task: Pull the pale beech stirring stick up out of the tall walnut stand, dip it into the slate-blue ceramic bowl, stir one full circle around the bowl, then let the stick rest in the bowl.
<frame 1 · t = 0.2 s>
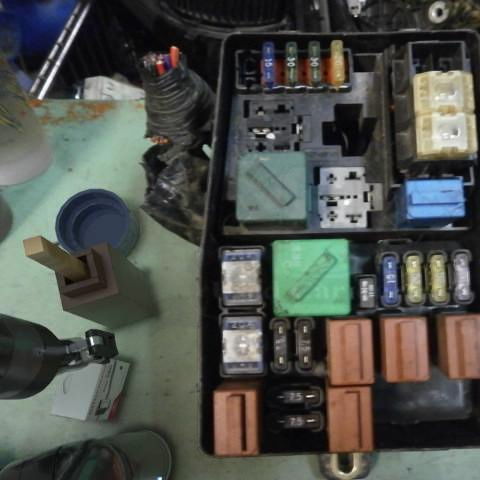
hand: (70, 366, 65), 18 cm above the table, tool pointing down, fingers open, 8 cm apart
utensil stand: (128, 300, 85), on the table
stirring stick: (85, 275, 68), point 18 cm above the table, touching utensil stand
ink box: (107, 387, 81), on the table
bowl: (104, 233, 88), on the table
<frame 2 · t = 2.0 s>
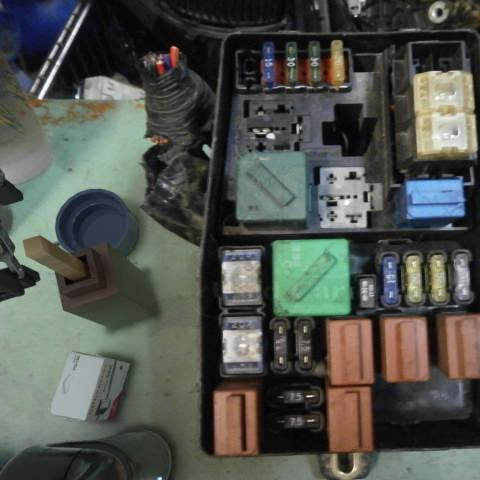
hand: (21, 239, 52), 34 cm above the table, tool pointing down, fingers open, 8 cm apart
nothing on the table moved.
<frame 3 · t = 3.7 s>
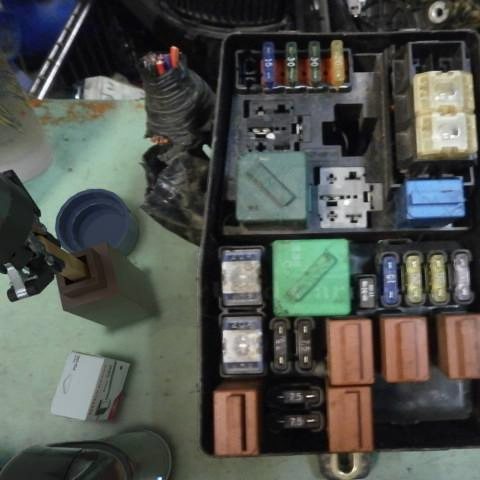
hand: (54, 257, 59), 27 cm above the table, tool pointing down, fingers closed on stirring stick, 2 cm apart
stirring stick: (85, 275, 68), point 18 cm above the table, touching gripper, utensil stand
everything else where it was.
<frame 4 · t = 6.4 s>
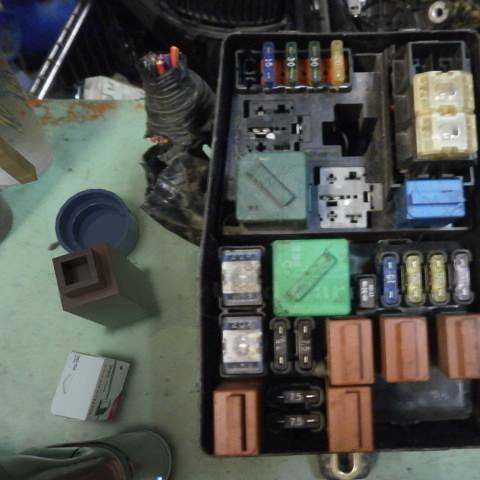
stirring stick: (28, 175, 62), point 27 cm above the table, touching gripper
everything else where it was.
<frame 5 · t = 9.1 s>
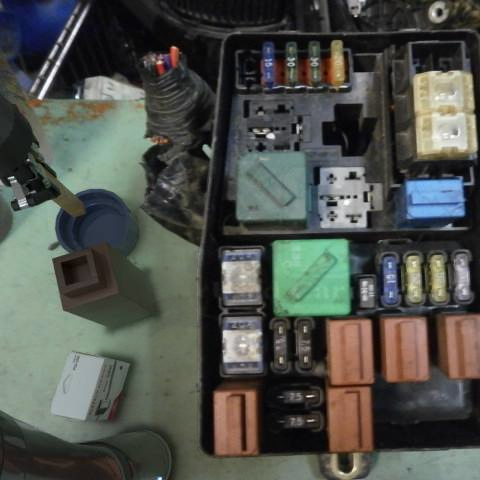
hand: (50, 186, 69), 20 cm above the table, tool pointing down, fingers closed on stirring stick, 2 cm apart
stirring stick: (78, 210, 77), point 11 cm above the table, touching gripper
everything else where it was.
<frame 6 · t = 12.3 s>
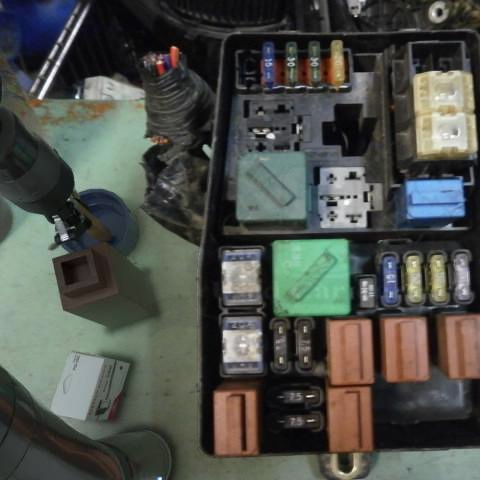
hand: (83, 218, 77), 11 cm above the table, tool pointing down, fingers closed on stirring stick, 2 cm apart
stirring stick: (105, 236, 86), point 2 cm above the table, touching gripper
everything else where it was.
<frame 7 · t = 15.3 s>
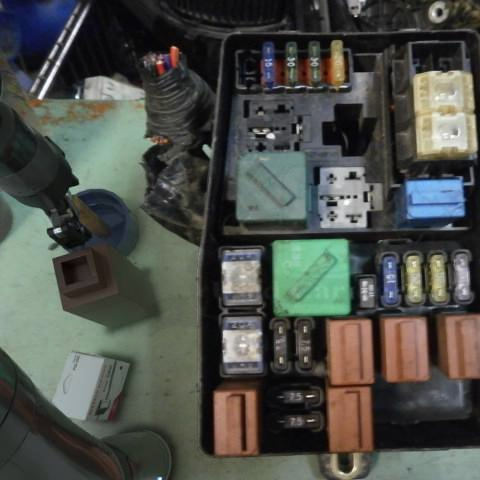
hand: (78, 211, 78), 11 cm above the table, tool pointing down, fingers open, 8 cm apart
stirring stick: (104, 231, 88), resting on bowl
everything else where it was.
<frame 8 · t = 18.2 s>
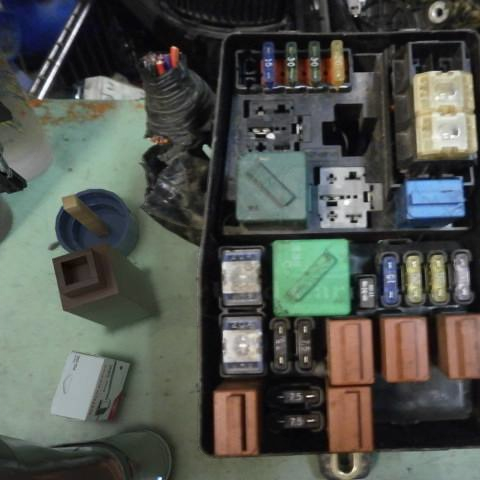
hand: (11, 152, 59), 30 cm above the table, tool pointing down, fingers open, 8 cm apart
nothing on the table moved.
at the end: stirring stick inside the target area in the bowl (0.1 cm from its centre), point 0.5 cm above the bowl's base; stirring stick moved 21.3 cm from its start; the gripper is holding nothing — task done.
